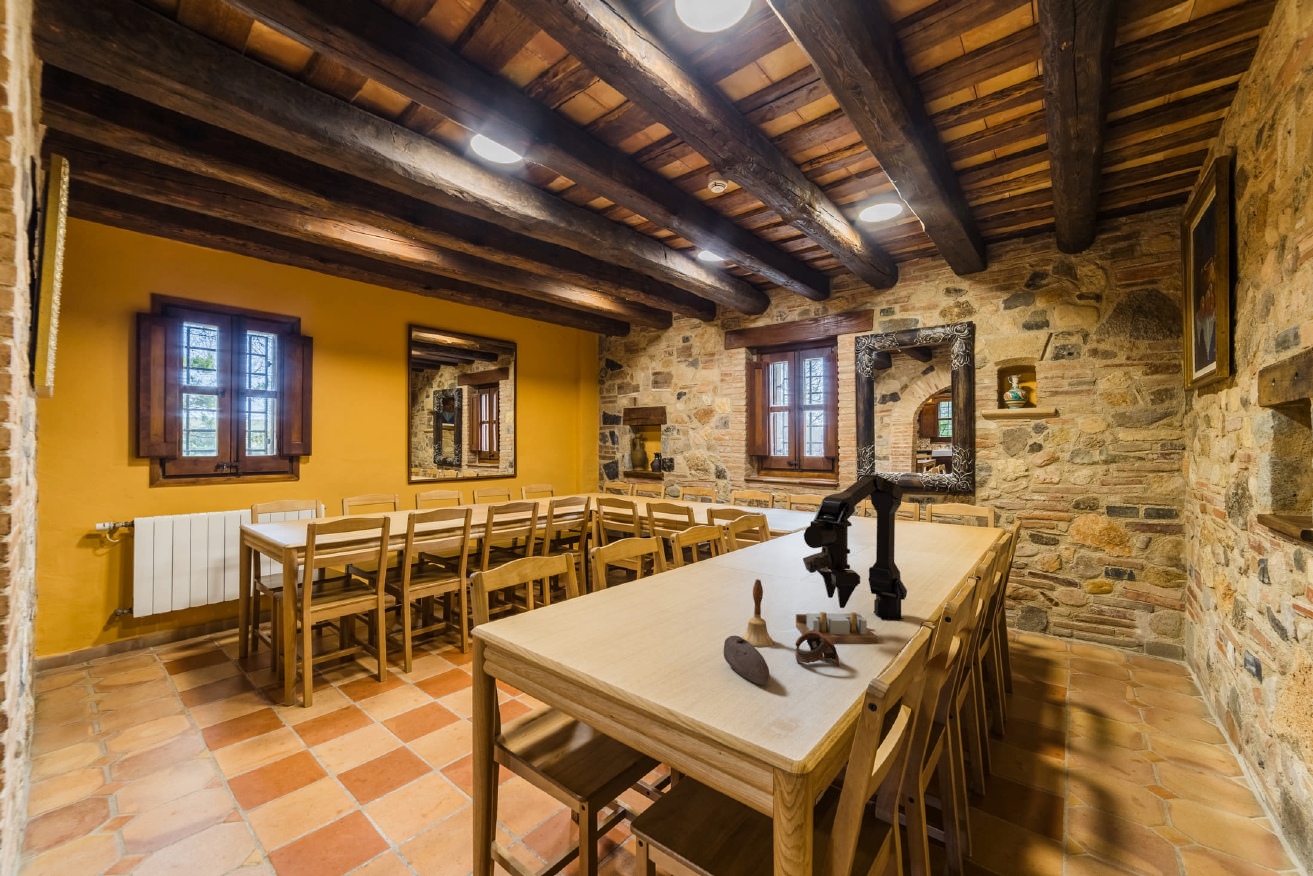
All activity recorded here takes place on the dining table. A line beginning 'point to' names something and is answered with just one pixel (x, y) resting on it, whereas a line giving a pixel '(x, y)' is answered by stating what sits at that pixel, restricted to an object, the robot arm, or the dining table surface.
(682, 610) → the dining table surface
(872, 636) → the board
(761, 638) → the hand bell
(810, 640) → the brown curved piece
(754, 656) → the perforated stone tool
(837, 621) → the grey notched panel
